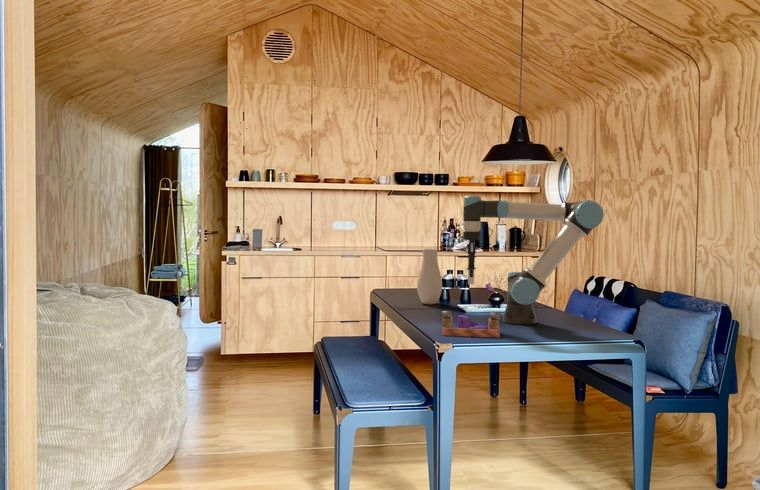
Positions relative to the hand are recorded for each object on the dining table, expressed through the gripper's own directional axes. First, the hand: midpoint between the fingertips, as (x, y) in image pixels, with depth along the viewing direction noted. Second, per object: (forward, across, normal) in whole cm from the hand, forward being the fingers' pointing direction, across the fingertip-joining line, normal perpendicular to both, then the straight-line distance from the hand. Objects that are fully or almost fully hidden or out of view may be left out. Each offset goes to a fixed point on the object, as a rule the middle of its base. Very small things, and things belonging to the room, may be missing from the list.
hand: (471, 284), depth 271 cm
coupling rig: (+18, +17, 0) cm, 25 cm away
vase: (+19, -61, -21) cm, 67 cm away
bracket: (+19, +13, +1) cm, 23 cm away
